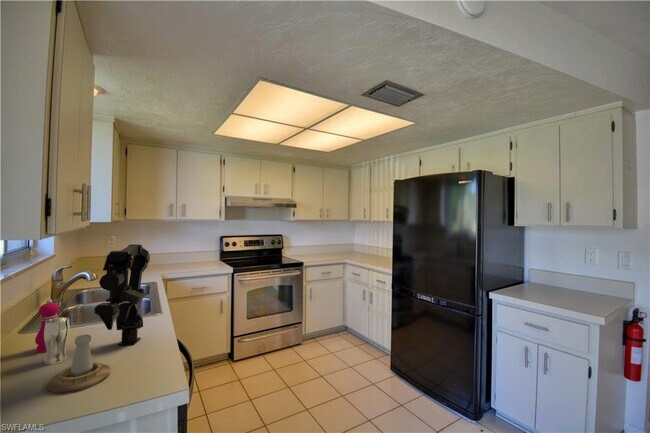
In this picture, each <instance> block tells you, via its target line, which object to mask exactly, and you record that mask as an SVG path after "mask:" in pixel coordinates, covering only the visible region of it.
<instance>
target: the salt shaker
mask: <svg viewBox="0 0 650 433" xmlns="http://www.w3.org/2000/svg"><path fill="white" fill-rule="evenodd" d="M91 341H92V335H90V334H82V335H80V334H79V335H78V336H76V337H75V338H74V345H76V347H75V351H74V356H73V360H72V362H71V366H70V367H71V374H72V375H73V376H74V377H78V376H83V375H86V374H88V373H89V372H90V371H91V369H92V368H93V362H94V361H93V358H92V352H91V351H92V350H91V347H90V343H91Z"/></svg>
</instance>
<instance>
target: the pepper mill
mask: <svg viewBox="0 0 650 433" xmlns="http://www.w3.org/2000/svg"><path fill="white" fill-rule="evenodd" d="M59 311H60V305H58V304H57V303H55V302H53V300H52V299H51V298H49V299H47V300H46V303H44V304H42V305H41V306H40V307H39V308H38V314H39V315H40V316H39V317H40V319H39V321H41V325H40V329H39V330H38V332H37V334H36V336H35V340H34V343H35V344H36V345H37V346H36V353H40V354H43V353H46V346H45V340H44V330H45V322H46V321H47V320H50V319H54V318H58V314H57V313H58V312H59Z"/></svg>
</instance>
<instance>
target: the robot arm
mask: <svg viewBox="0 0 650 433" xmlns="http://www.w3.org/2000/svg"><path fill="white" fill-rule="evenodd" d="M150 259H151V256H150V253H149V251H148V250H147V249H145V248H144V247H143V245H142V244H135V243H132V244H128V245H127V247H125V248H123V249H120V250H111V251H110V252H109V253H108V254H107V256H106V259H105V261H104V266H103V269H102V271H106V274H103V275H102V276H101V277H100V279H99V282H98V283H99V286H100V287H101V289H103V290H106V291H107V292H108V293H109V294H108V298H106V300H105V302H101V303H99V304H97V305H96V306H95V307H94V309H93V310H94V311H93V314H96V315H97V316H99V318H100V320H101V321H102V323H103V324H104V325H105V328H106V329H107V330H108V331H111V330H113V326H114V321H115V320H116V321H115V324H116V326H115V327H116V331H121V341H119V342H118V343H117V346H132V345H133V346H134V345H135V344H137V343H138V342H139V341H140V340H141V339H142V338H141V337H138V333H139V332H138V331H139V330H140V329H141V328H143V327H144V319H143V316H142V314H141V312H142V311H141V309H140V307H139V306H138V305H139V304H140V303H142V302H143V299H144V298H145V297H146V292H145V291H146V290H145V289H144V288H143V287H141V284H142V278H143V277H142V276H143V272H144V271H145V270H146V269H147V268H148V265H149V263H150V261H151V260H150ZM129 271H130V272H129ZM129 274H130V275H129ZM117 314H118V315H117ZM116 315H117V316H116ZM115 316H116V319H115Z"/></svg>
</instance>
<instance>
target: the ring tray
mask: <svg viewBox="0 0 650 433" xmlns="http://www.w3.org/2000/svg"><path fill="white" fill-rule="evenodd" d="M92 362H93V368H92V369H91V371H90V372H89V373H88V374H86V375H83V376H78V377H74V376H73V375H72V374H71V366H68V367H65V368H64V369H63V370H61V371H60V372H59V373H57V374H55V375H54V376H52V377H51V378H50V379H49V380H48V381H47V386H46V387H47V388H46V389H47V391H48V392H50V393H52V394H59V395H60V394H61V395H62V394H70V393H75V392H80V391H83V390H86V389H87V390H88V389H89V388H92V387H94V386H97V385H98V384H100V383H102V382H104V381H105V380H106V379H107V378H109V376H110V375H111V366H110V365H108V364H104V363H101V362H97V361H92Z"/></svg>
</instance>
